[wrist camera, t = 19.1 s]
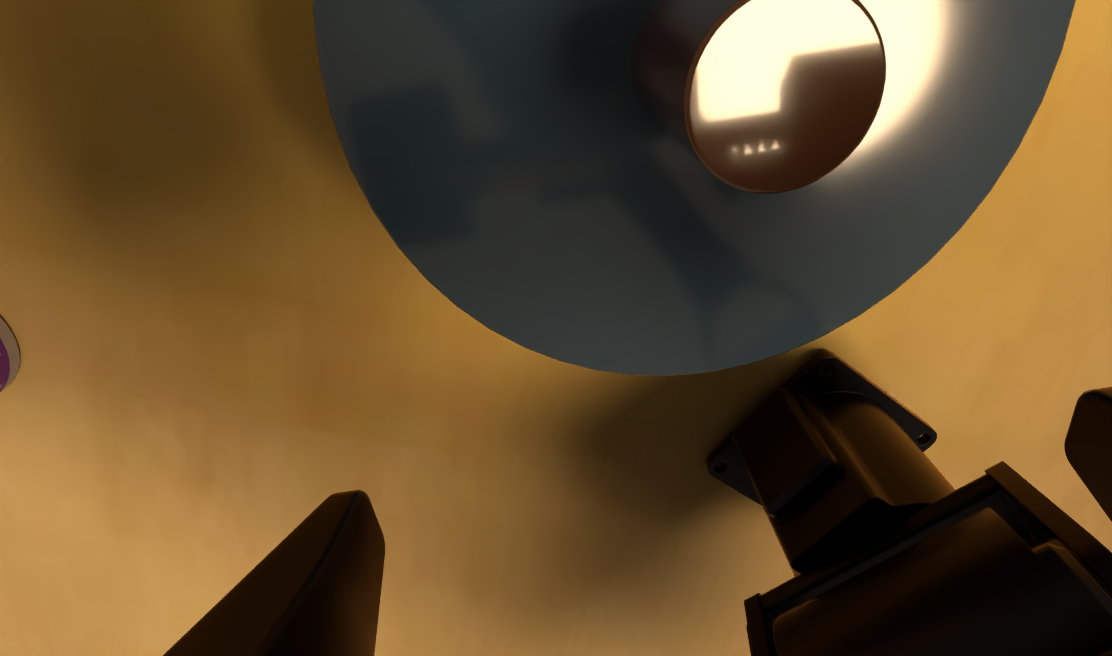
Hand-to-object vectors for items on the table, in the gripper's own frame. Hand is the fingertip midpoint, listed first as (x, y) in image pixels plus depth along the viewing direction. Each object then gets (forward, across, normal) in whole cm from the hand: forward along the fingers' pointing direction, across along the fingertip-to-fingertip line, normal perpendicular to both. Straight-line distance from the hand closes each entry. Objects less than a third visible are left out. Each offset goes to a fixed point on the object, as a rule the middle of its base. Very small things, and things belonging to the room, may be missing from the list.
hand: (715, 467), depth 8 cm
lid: (+7, -1, -4) cm, 8 cm away
